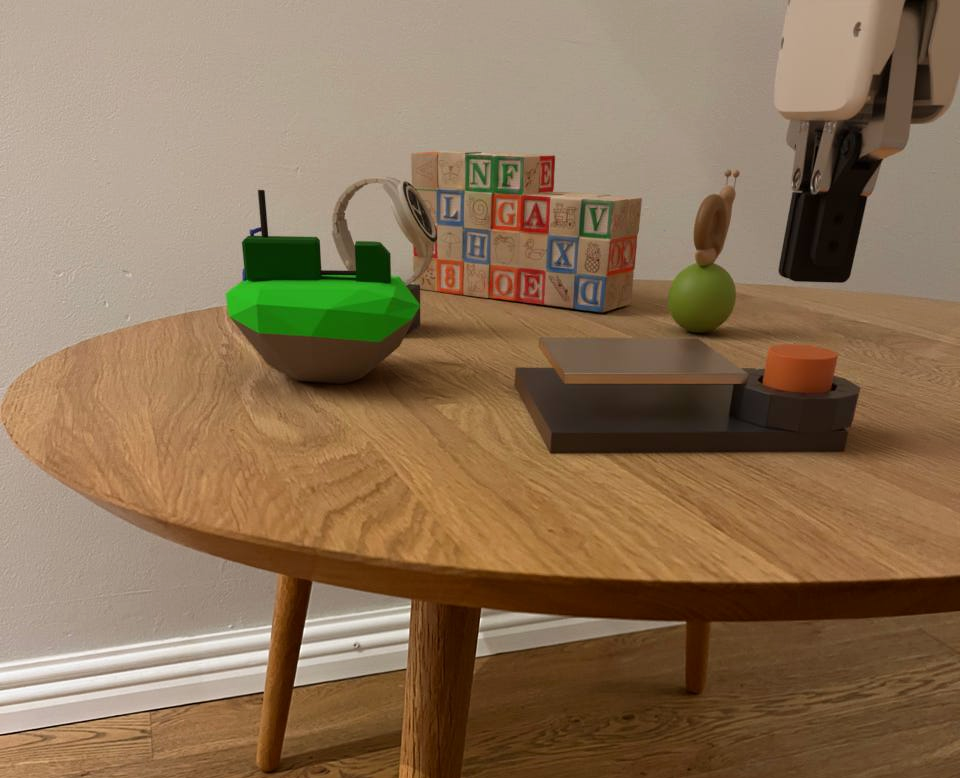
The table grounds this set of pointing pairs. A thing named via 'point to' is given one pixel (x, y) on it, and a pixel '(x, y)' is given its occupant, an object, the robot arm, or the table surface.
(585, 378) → the scale pan
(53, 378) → the table surface
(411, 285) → the watch
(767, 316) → the table surface
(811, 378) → the tare button
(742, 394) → the scale
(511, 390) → the table surface
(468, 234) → the stack of blocks
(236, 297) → the floating island model
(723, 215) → the snail figurine
